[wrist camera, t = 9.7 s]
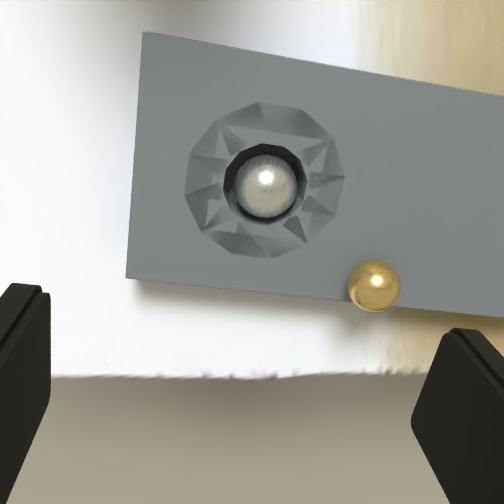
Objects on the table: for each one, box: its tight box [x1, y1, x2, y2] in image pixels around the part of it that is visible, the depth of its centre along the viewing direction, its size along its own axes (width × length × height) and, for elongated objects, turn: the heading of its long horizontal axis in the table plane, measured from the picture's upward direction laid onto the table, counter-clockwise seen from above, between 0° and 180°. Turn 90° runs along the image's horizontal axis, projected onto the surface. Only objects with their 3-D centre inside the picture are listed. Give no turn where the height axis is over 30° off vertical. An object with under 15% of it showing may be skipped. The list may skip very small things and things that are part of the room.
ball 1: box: [234, 155, 297, 218], centre depth 27 cm, size 4×4×4 cm
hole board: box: [126, 32, 504, 318], centre depth 28 cm, size 26×13×2 cm, turn 80°
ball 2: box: [347, 259, 401, 312], centre depth 27 cm, size 3×3×3 cm
